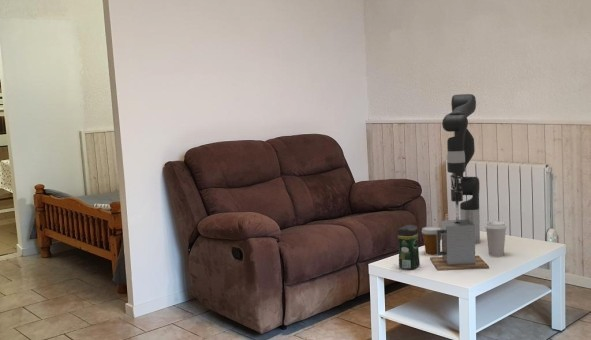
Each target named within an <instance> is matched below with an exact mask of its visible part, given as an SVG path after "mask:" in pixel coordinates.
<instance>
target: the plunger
mask: <svg viewBox="0 0 591 340" xmlns="http://www.w3.org/2000/svg"><path fill="white" fill-rule="evenodd" d="M458 189H460V188H458ZM462 190H463V189H462ZM450 201H451V202H455V220H456V223H459V220H460V202H464V195H463V191H461V201H456V195H455V189H452V188H450Z"/></svg>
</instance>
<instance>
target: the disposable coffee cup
mask: <svg viewBox="0 0 591 340" xmlns="http://www.w3.org/2000/svg"><path fill="white" fill-rule="evenodd" d="M421 229H422V230H421V233H422V237H423V243H424V250H425V251H424V252H425V254H426V255H429V256H434V255H436V256H438V255H437V233H436V230H441V227H439V226H425V227H422V228H421ZM440 242H442V233H440Z"/></svg>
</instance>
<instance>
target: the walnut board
mask: <svg viewBox="0 0 591 340" xmlns="http://www.w3.org/2000/svg"><path fill="white" fill-rule="evenodd" d="M429 260H430V262H431V263H432V266H434V268H435V270H436V271H453V270H454V271H458V270H484V269H490V266H489V264H488V263H487V262H486V261H485V260H484V259H482V257H481V256H480V255H475V265H456V266H447V265H446V263H445V262H444V260H443V259H442V256H433V257H429Z"/></svg>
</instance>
